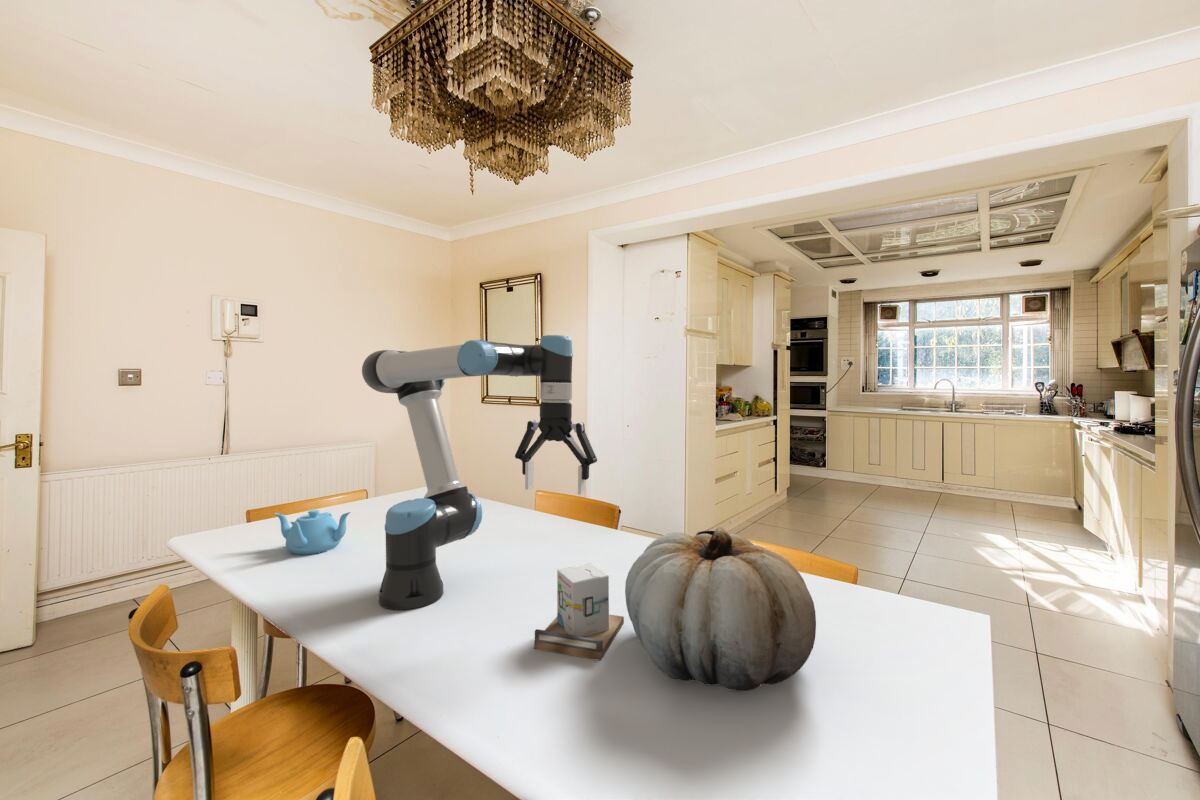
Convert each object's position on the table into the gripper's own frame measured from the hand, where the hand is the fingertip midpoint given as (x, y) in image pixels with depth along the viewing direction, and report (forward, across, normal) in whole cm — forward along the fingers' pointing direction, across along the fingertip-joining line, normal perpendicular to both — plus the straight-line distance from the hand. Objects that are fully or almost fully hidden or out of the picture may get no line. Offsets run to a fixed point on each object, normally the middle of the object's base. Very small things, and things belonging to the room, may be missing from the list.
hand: (554, 491), depth 120 cm
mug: (+27, +34, +39) cm, 58 cm away
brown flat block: (+27, +12, -11) cm, 32 cm away
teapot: (+30, -92, +12) cm, 97 cm away
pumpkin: (+27, +39, -10) cm, 48 cm away
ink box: (+26, +12, -10) cm, 30 cm away
